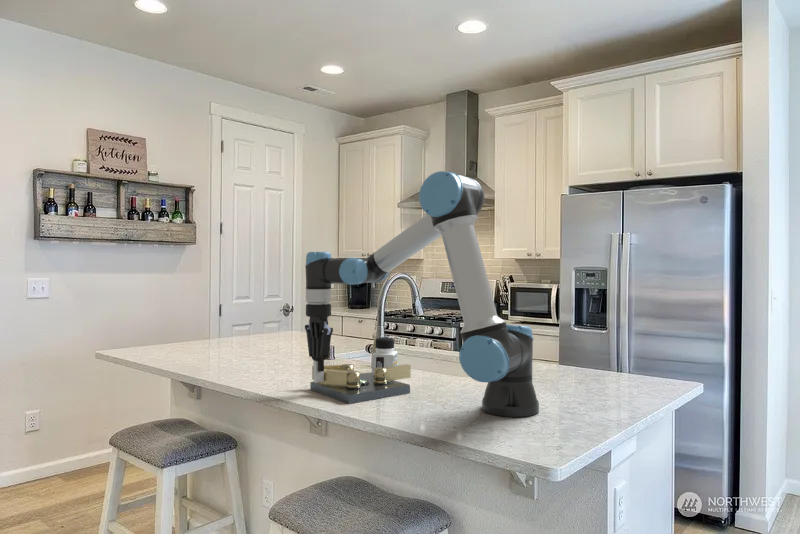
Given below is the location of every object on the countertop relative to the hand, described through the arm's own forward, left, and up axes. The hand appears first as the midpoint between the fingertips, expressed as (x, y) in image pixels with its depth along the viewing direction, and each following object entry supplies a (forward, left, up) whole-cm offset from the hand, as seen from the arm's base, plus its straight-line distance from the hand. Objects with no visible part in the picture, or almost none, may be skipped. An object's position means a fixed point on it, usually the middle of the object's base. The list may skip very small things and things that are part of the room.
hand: (318, 381), depth 175 cm
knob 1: (-4, -5, -1) cm, 7 cm away
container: (+13, -34, -4) cm, 37 cm away
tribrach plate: (-4, -12, -4) cm, 13 cm away
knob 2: (-8, -22, -1) cm, 23 cm away
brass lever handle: (+5, -8, -1) cm, 10 cm away
